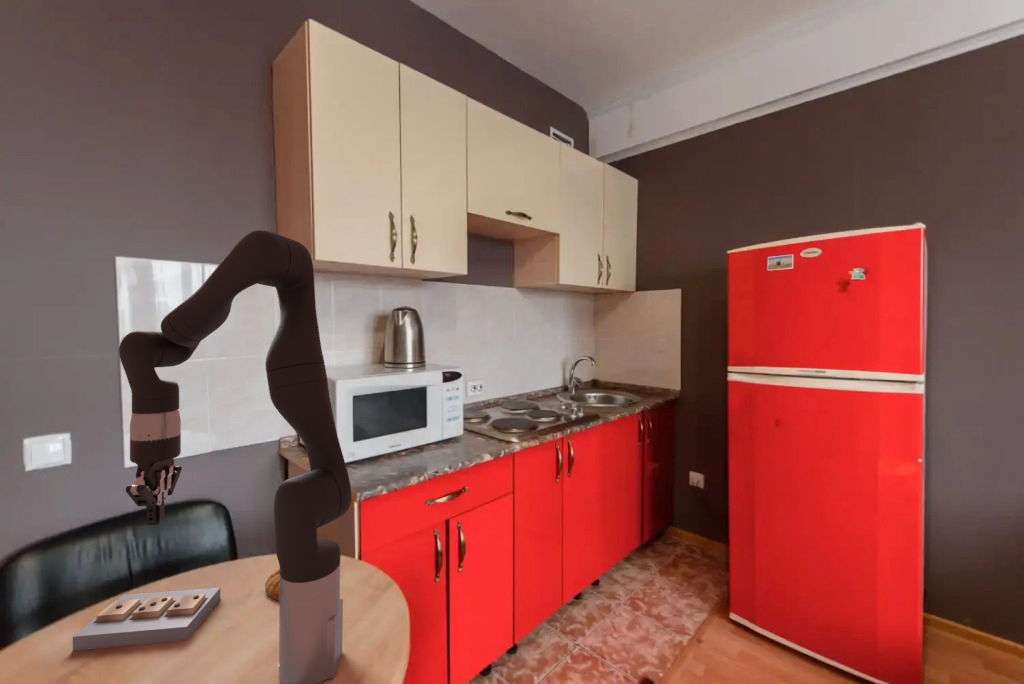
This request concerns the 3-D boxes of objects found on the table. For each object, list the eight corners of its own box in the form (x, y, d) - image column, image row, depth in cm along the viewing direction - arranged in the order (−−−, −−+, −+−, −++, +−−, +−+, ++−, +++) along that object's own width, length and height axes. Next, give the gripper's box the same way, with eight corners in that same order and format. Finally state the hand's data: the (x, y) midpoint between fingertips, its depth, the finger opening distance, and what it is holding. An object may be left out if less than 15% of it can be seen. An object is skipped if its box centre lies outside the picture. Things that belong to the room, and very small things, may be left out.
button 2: (205, 606, 85) (205, 592, 85) (192, 620, 81) (192, 606, 81) (180, 608, 84) (181, 594, 84) (166, 622, 80) (167, 608, 80)
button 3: (173, 608, 84) (173, 595, 84) (158, 623, 80) (158, 609, 80) (148, 610, 83) (148, 597, 83) (132, 626, 79) (132, 611, 79)
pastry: (312, 594, 92) (312, 577, 92) (280, 610, 86) (280, 592, 86) (292, 578, 97) (292, 562, 97) (260, 592, 92) (260, 575, 92)
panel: (220, 599, 89) (220, 587, 89) (186, 640, 77) (186, 626, 77) (123, 606, 86) (123, 594, 86) (72, 650, 74) (72, 636, 74)
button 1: (140, 611, 83) (140, 597, 83) (123, 626, 79) (123, 612, 79) (114, 613, 82) (114, 599, 82) (96, 629, 78) (96, 614, 78)
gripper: (155, 442, 75) (155, 538, 76) (196, 426, 89) (196, 508, 89) (107, 443, 74) (107, 541, 74) (156, 427, 87) (156, 510, 87)
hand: (155, 523), depth 82 cm, fingers closed
